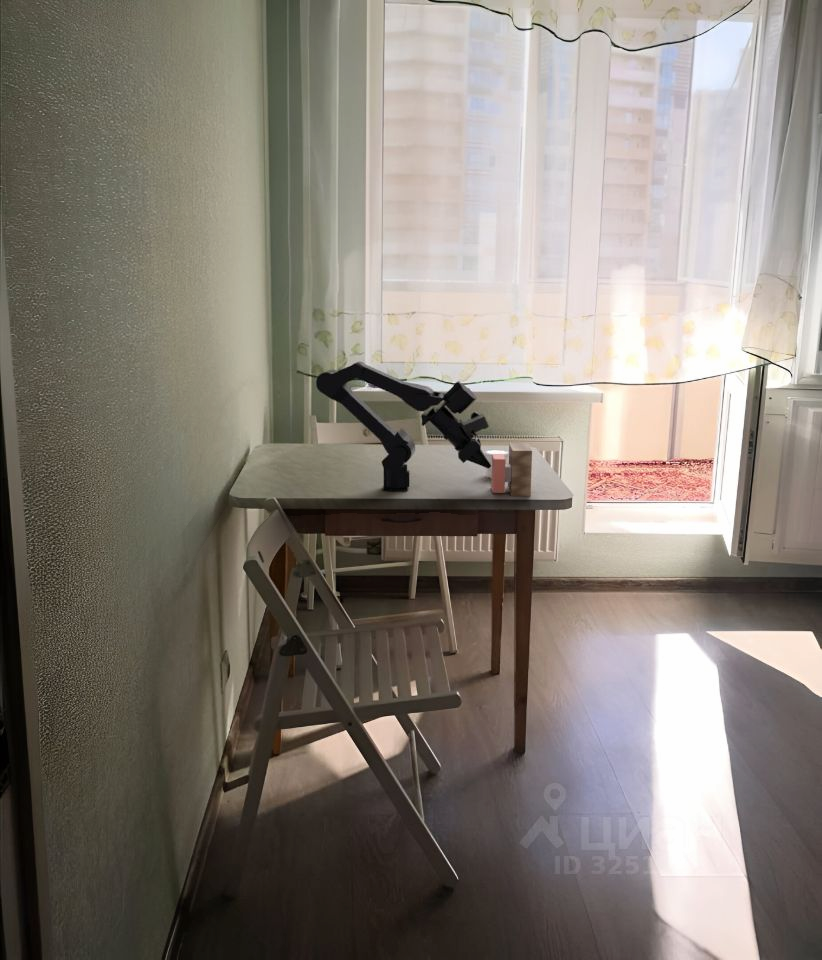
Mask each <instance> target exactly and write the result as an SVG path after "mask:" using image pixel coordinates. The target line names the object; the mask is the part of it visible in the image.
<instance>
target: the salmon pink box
mask: <svg viewBox="0 0 822 960" xmlns="http://www.w3.org/2000/svg"><path fill="white" fill-rule="evenodd" d="M505 461H506V459H505V457H504V454H492V476H491V478H490V479H491V481H490V483H491V484H490V486H491V490H492V493H493V494H505V493H506V492H505V491H506V483H508V482H511V464H509V463H507V464H505Z"/></svg>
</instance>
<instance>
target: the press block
mask: <svg viewBox="0 0 822 960" xmlns="http://www.w3.org/2000/svg"><path fill="white" fill-rule="evenodd" d="M508 452H509V455H508V464H511V482H507V487H509V488H508V491H509V490H510V491H509V494H510V493H511V494H510V496H511V497H531V494H532V465H533V462H532V461H533V449H532V448H531V446H530V444H529V443H528V442H509V443H508Z"/></svg>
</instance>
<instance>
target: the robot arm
mask: <svg viewBox="0 0 822 960" xmlns="http://www.w3.org/2000/svg"><path fill="white" fill-rule="evenodd" d="M355 379H356V380H360V381H363V382H365V383H368V384H369V385H372V386H374V387H376V388H379V389H381V390H383V391H385V392H387V393H390V394H392V395H394V396H396V397H398V398H399V399H401V400H402V401H403V402H404V403H405V404H407V405H408V406H409V407H410V408H413V410H416V411H417V412H425V411H428V410H429V409H430V410H429V411H428V412H426V413H421V416H420V417H421V426H422V427H424V426H426V424H427V423H428V422H429V423H430V424H431V425H432V426H433V427H434V428H435V429H436V430H437V431H438V432H439V433H440V434H441V435H442V436H443V439H444V440H445V441H448V442H449V443H450V444H451V445H452V446H453V447H454V450H455V451H457V457H458V459H459V460H460V461H461V462H462V464H464V463H466V461H468V462H471V463H472V464H473V463H474V464H476V465H478V466H481V467H484V468H485V469H486V468H490V467H491V464H490V463H489V461H488V460H487V458H486V457H485V453H484V452H483V451H482V447H481V445H482V443H481V440H480V438H477V439H476V438H474V437H477V436H478V432H480V431H482V430H486V429H488V428H489V427H490V425H489V423H488V420H487V418H486V416H485V414H484V413H479V412H477V411H473V412H471V413H470V418H468V419H467V420H466V421H463V420H462V419H461V418H460V419H459V418H457V417H456V415H454V414H457V413H458V414H463V413H464V412H465V411H466V410H467V409H468V408H469V407H470V406H471V405H473V403H474V402H475V401H477V396H476V395H475V393H474V392H473V390H471V389H470V388H469V387H467V386H466V385H465V384H463V383H462V382H461V381H460V380H457V381H456V382H455V383H454V384H453V385H452V387H451V388H450V389H449V390H448V391H446V393H445V392H439V391H435V390H433V389H432V388H431V387H429V386H428V385H427V386H426V385H422V384H418V383H414V382H413V383H412V382H407V381H404V380H402V379H399V378H398V377H395V376H392V375H390V374H389V373H388V374H387V373H386V372H384V371H381V370H379V369H376V368H375V367H372V366H370V365H368V364H366V363H365V362H363V361H357V362H355V363H352V364H351V365H349V366H347V367H344V368H341V369H339V370H337V369H328V370H326V371H323V372H321V373H320V374H319V375H318V376H317V378H316V381H315V385H316V388H317V390H318V391H319V392H320V393H321V394H323V396H324V395H325V396H326V397H327V398H328V399H330V400H333V401H335V402H337V403H338V404H341V405H342V406H343V407H344V408H345V409H346V410H347V411H348V412H349V413H350V414H352V416H354V417H355V418H356V419H357V420H358V421H359V422H360V423H361V424H362V425H363V426H364V427H365V428H366V429H368V431H370V433H372V434H373V435H374V436H375V437H376V438H377V439H378V440H379V441H380V443H381V445H382V447H383V448H384V450H385V452H386V453H387V455H386V456H385V457H384V458H383V459H382V460H381V465H382V467H383V485H382V491H384V492H406V491H408V489H409V488H410V470H408V464H407V463H408V461H409V460H410V459H411V458H412V457H413V456H414V454H415V452H416V443H415V442H414V441H413V439H414V438H413V436H410V435H409V434H408V432H406V431H405V430H404V428H402V427H401V428H400V429H398V430H396V429H394V428H392V427H390V425H389V424H387V423H386V421H385V420H383V419H382V418H381V417H380V416H379V415H378V414H376V412H375V411H373V410H372V408H370V407H369V406H368V405H367V404H366V403H365V401H363V400H362V399H361V398H360V397H359V396H357V395H356V394H355V393H354V391H353V389H352V387H350V384H349V382H351V381H353V380H355ZM442 402H443V403H442ZM440 403H442V404H440ZM438 405H439V406H438ZM436 406H438V407H436ZM431 407H432V408H431Z"/></svg>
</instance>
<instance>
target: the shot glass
mask: <svg viewBox="0 0 822 960" xmlns="http://www.w3.org/2000/svg"><path fill="white" fill-rule="evenodd" d="M492 454H504V457H505V459H506V461H505V464H509V451H507V450H503V449H490V450H489V449H488V450H485V451H484V455H485V457H486V458H487V460H488V461H489V463H490V464H491V467H490V468H486V467H485V476H486V477H487V478H489V477H490V478H489V479H491V476H492Z"/></svg>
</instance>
